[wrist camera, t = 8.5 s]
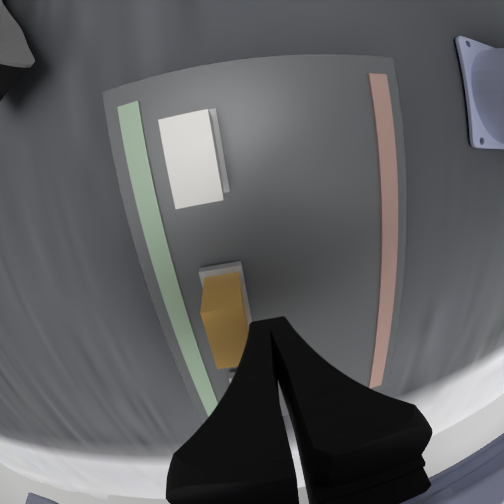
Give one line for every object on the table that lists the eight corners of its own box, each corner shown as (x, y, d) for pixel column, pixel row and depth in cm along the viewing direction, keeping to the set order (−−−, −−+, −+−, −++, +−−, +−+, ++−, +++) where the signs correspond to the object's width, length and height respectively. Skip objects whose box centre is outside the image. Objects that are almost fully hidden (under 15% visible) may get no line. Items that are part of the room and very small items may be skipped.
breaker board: (375, 64, 13) (394, 56, 11) (377, 372, 21) (387, 390, 19) (116, 96, 13) (100, 91, 11) (204, 407, 21) (204, 428, 19)
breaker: (216, 109, 12) (213, 98, 8) (229, 189, 13) (231, 208, 10) (170, 118, 12) (150, 112, 8) (184, 198, 13) (171, 219, 10)
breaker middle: (240, 260, 14) (245, 298, 11) (252, 322, 16) (259, 367, 12) (199, 268, 14) (193, 307, 11) (215, 328, 16) (214, 374, 12)
